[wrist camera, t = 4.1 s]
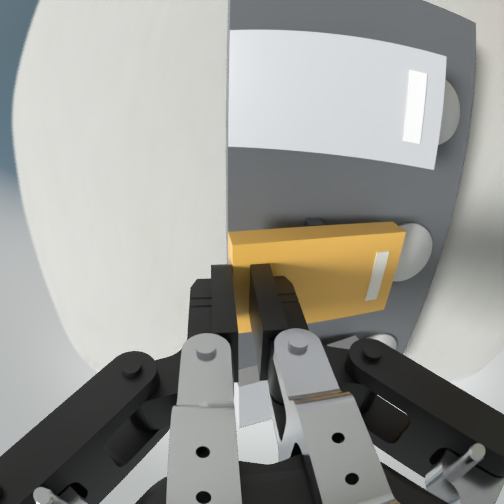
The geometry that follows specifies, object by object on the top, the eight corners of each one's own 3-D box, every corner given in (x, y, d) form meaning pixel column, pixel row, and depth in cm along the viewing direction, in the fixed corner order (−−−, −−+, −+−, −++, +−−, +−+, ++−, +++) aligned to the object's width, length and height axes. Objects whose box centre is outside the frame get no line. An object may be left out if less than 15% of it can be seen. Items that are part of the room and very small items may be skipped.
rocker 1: (436, 58, 8) (447, 56, 7) (424, 162, 10) (434, 170, 9) (236, 34, 9) (229, 29, 8) (234, 141, 11) (227, 147, 10)
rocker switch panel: (430, 27, 12) (484, 22, 8) (366, 355, 24) (386, 399, 20) (228, -8, 11) (232, -41, 7) (230, 367, 23) (233, 419, 19)
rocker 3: (355, 335, 17) (365, 347, 16) (340, 379, 19) (348, 391, 18) (232, 371, 15) (239, 388, 14) (233, 414, 17) (239, 429, 16)
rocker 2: (392, 221, 13) (406, 232, 12) (374, 297, 15) (384, 310, 14) (228, 231, 12) (232, 246, 11) (229, 317, 14) (234, 335, 13)
